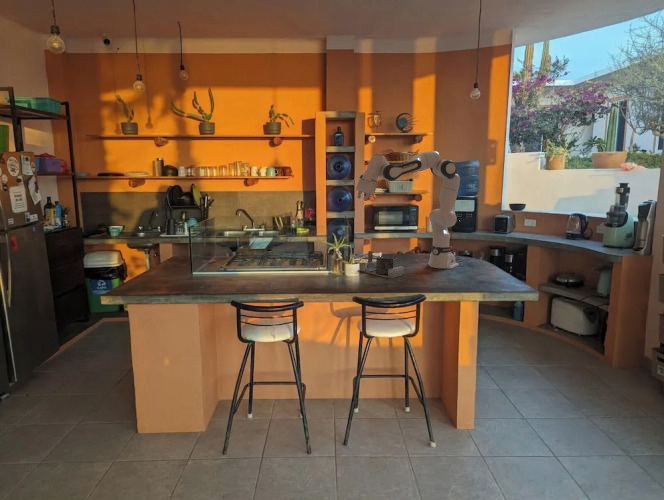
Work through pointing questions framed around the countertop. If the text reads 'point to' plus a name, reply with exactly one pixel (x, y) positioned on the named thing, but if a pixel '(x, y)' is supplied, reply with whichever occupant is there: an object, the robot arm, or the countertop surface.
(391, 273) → the fixed jaw
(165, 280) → the countertop surface
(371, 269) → the sliding jaw
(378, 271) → the small box
